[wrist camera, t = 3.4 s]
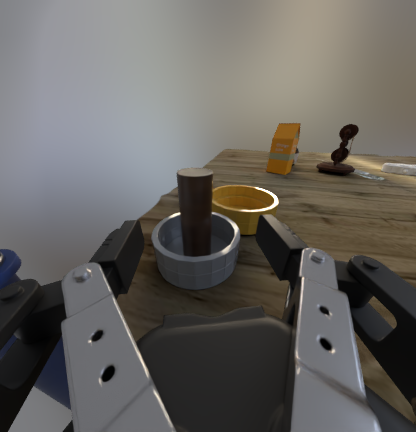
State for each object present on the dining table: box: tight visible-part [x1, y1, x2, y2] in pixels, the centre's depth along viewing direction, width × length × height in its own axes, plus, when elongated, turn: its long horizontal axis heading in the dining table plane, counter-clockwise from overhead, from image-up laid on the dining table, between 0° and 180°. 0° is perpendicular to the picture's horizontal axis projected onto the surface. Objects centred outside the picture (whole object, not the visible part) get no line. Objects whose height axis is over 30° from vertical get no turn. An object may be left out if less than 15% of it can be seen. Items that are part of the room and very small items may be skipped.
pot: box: [151, 212, 240, 290], centre depth 24 cm, size 13×13×5 cm
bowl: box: [212, 185, 279, 235], centre depth 35 cm, size 15×15×6 cm
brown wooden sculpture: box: [317, 124, 358, 176], centre depth 72 cm, size 15×15×20 cm
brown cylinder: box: [177, 168, 213, 257], centre depth 22 cm, size 4×4×13 cm
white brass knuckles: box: [381, 163, 416, 176], centre depth 77 cm, size 3×18×15 cm
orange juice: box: [266, 123, 300, 175], centre depth 71 cm, size 8×9×20 cm
